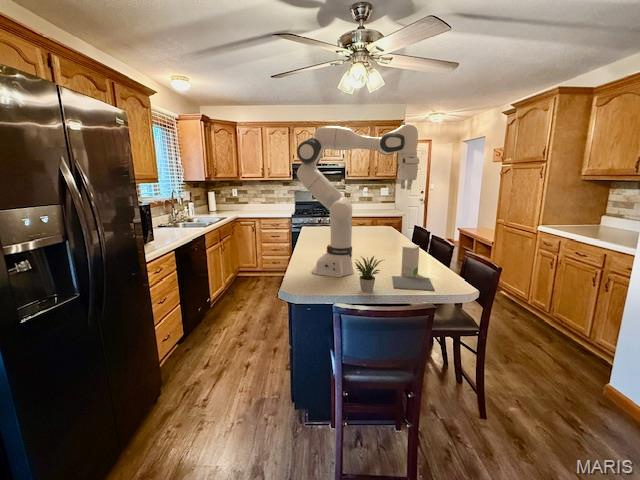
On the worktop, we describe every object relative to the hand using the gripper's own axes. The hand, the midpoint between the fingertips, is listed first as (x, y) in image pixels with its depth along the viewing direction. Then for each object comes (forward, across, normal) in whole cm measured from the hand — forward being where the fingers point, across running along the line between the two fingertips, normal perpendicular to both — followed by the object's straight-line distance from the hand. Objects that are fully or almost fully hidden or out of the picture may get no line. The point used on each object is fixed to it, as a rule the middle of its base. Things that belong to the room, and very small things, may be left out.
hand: (405, 189), depth 149 cm
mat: (+44, +14, +1) cm, 46 cm away
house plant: (+44, +22, -21) cm, 54 cm away
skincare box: (+44, +1, +4) cm, 45 cm away
